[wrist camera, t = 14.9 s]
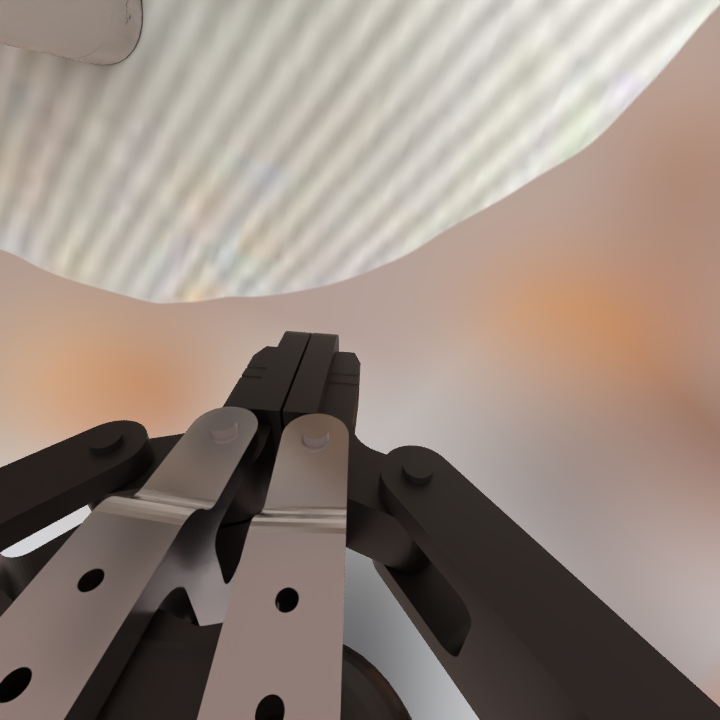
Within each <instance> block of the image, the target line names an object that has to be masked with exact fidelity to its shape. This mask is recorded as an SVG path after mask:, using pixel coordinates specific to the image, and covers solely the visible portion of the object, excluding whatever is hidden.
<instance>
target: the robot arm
mask: <svg viewBox="0 0 720 720" xmlns="http://www.w3.org/2000/svg"><path fill="white" fill-rule="evenodd" d="M141 23H142V8H141V0H0V44H5V45H9V46H14V47H19V48H23V49H28V50H33V51H38V52H42V53H47V54H52V55H56V56H61V57H65V58H69V59H74V60H79V61H84V62H88V63H93V64H100V65H110V64H114V63H118V62H120V61H121V60H123V59H125V58H126V57H127V56H128V55H129V54H130V53H131V52H132V51H133V49H134V47H135V45H136V43H137V41H138V39H139V34H140V30H141ZM359 380H360V362H359V360H358V358H357V356H356V355H355V353H350V352H339V336H338V335H335V334H321V333H313V334H312V333H306V332H293V331H286V332H285V333H284V335H283V338H282V339H281V341H280V343H279V345H278V347H269V346H267V347H265V348H264V349H262V350H261V351H259V352H258V353H256V354H255V355H254V356H253V357H252V359H251V361H250V363H249V364H248V366H247V368H246V369H245V371H244V372H243V374H242V378H240V379H239V381H238V383H237V384H236V386H235V387H234V389H233V391H232V392H231V394H230V396H229V397H228V399H227V401H226V403H225V404H224V406H223V407H222V408H217V409H214V410H212V411H209V412H207V413H205V414H203V415H202V416H200V417H199V418H198V419H196V421H194V423H193V424H192V425H191V426H190V427H189V429H188V430H187V431H186V433H183V434H178V435H172V436H165V437H158V438H151V439H149V437H148V434H147V431H146V429H145V428H144V426H142V425H141V424H139V423H137V422H134V421H127V420H126V421H125V420H123V421H122V420H121V421H113V422H109V423H105V424H102V425H99V426H96V427H94V428H92V429H89V430H87V431H85V432H82V433H80V434H78V435H75V436H73V437H71V438H68V439H66V440H64V441H62V442H59V443H57V444H54V445H52V446H50V447H47V448H45V449H43V450H40V451H38V452H36V453H33V454H31V455H29V456H26V457H24V458H22V459H20V460H17V461H15V462H12V463H10V464H8V465H6V466H3V467H1V468H0V552H2V551H3V550H5V549H6V548H8V547H10V546H12V545H14V544H15V543H17V542H19V541H21V540H22V539H24V538H26V537H28V536H30V535H32V534H33V533H36V532H37V531H39V530H41V529H43V528H45V527H47V526H49V525H50V524H52V523H54V522H56V521H57V520H60V519H62V518H63V517H65V516H67V515H69V514H71V513H73V512H74V511H76V510H78V509H80V508H82V507H84V506H85V505H87V504H88V506H89V508H90V509H91V511H92V512H91V513H90V515H89V516H88V517H87V518H86V519H85V520H84V521H83V523H81V524H79V525H78V526H76V527H74V528H72V529H71V530H69V531H67V532H66V533H64V534H62V535H60V536H58V537H57V538H55V539H53V540H51V541H49V542H48V543H46V544H44V545H42V546H41V547H39V548H37V549H35V550H34V551H32V552H30V553H28V554H25V555H23V556H19V557H14V558H10V557H4V556H2V555H1V554H0V720H412V718H411V717H410V715H409V713H408V711H407V709H406V708H405V706H404V704H403V702H402V701H401V699H400V698H399V696H398V694H397V693H396V692H395V690H394V689H393V688H392V686H391V685H390V683H389V682H388V681H387V679H385V677H384V676H383V675H382V674H381V673H380V672H379V671H378V670H377V668H376V667H375V666H373V665H372V664H371V663H370V662H369V661H368V660H367V659H365V658H364V657H363V656H362V655H360V654H359V653H357V652H355V651H354V650H352V649H351V648H350V647H348V646H346V645H344V644H343V614H344V582H345V549H346V547H347V548H349V549H352V550H354V551H356V552H358V553H360V554H363V555H365V556H367V557H369V558H371V559H372V560H373V564H374V567H375V568H376V570H377V572H378V573H379V575H380V576H381V578H382V579H383V581H384V582H385V583H386V585H387V586H388V588H389V589H390V591H391V592H392V594H393V595H394V596H395V598H396V599H397V601H398V602H399V604H400V605H401V607H402V608H403V610H404V611H405V612H406V614H407V615H408V617H409V618H410V619H411V621H412V623H413V624H414V625H415V627H416V628H417V629H418V631H419V633H420V634H421V635H422V637H423V638H424V640H425V641H426V643H427V644H428V646H429V647H430V649H431V650H432V651H433V653H434V654H435V656H436V657H437V659H438V660H439V661H440V663H441V664H442V666H443V667H444V669H445V670H446V672H447V673H448V674H449V676H450V677H451V679H452V680H453V682H454V683H455V684H456V686H457V687H458V689H459V690H460V692H461V693H462V694H463V696H464V698H465V699H466V700H467V702H468V703H469V705H470V706H471V708H472V709H473V711H474V712H475V714H476V715H477V716H478V718H479V719H480V720H720V707H719V706H718V705H717V704H716V703H714V702H713V701H712V700H711V699H710V698H709V697H708V696H707V695H706V694H705V693H703V692H702V691H701V690H700V689H699V688H698V687H696V685H694V684H693V683H692V682H691V681H690V680H689V679H688V678H687V677H686V676H685V675H683V674H682V673H681V672H680V671H679V670H678V669H677V668H676V667H675V666H673V665H672V664H671V663H670V662H669V661H668V660H667V659H666V658H665V657H663V656H662V655H661V654H660V653H659V652H658V651H657V650H655V648H654V647H652V646H651V645H650V644H649V643H648V642H647V641H646V640H645V639H643V637H641V636H640V635H639V634H638V633H637V632H636V631H635V630H634V629H633V628H631V627H630V626H629V625H628V624H627V623H626V622H624V620H622V619H621V618H620V617H619V616H618V615H617V614H616V613H615V612H614V611H612V610H611V609H610V608H609V607H608V606H607V605H606V604H605V603H604V602H603V601H602V600H600V599H599V598H598V597H597V596H596V595H595V594H594V593H593V592H592V591H590V590H589V589H588V588H587V587H586V586H585V585H584V584H583V583H582V582H581V581H579V580H578V579H577V578H576V577H575V576H574V575H573V574H572V573H570V572H569V571H568V570H567V569H566V568H565V567H564V566H563V565H562V564H561V563H559V562H558V561H557V560H556V559H555V558H554V557H553V556H552V555H551V554H550V553H548V552H547V551H546V550H545V549H544V548H543V547H542V546H541V545H540V544H538V543H537V542H536V541H535V540H534V539H533V538H532V537H531V536H530V535H528V534H527V533H526V532H525V531H524V530H523V529H522V528H521V527H520V526H518V525H517V524H516V523H515V522H514V521H513V520H512V519H511V518H509V516H507V515H506V514H505V513H504V512H503V511H502V510H501V509H500V508H499V507H497V506H496V505H495V504H494V503H493V502H492V501H491V500H490V499H489V498H487V497H486V496H485V495H484V494H483V493H482V492H481V491H480V490H478V489H477V488H476V487H475V486H474V485H473V484H472V483H471V482H470V481H469V480H467V479H466V478H465V477H464V476H463V475H462V474H461V473H460V472H459V471H458V470H456V469H455V468H454V467H453V466H452V465H451V464H450V463H449V462H448V461H447V460H445V459H444V458H443V457H442V456H441V455H439V454H438V453H436V452H434V451H432V450H430V449H428V448H425V447H420V446H403V447H399V448H396V449H394V450H392V451H390V452H389V453H388V454H387V455H386V454H383V453H380V452H377V451H375V450H372V449H370V448H369V447H367V446H365V445H364V444H363V443H361V442H360V440H359V439H358V438H357V437H356V435H355V426H356V418H357V411H358V399H359Z"/></svg>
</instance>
